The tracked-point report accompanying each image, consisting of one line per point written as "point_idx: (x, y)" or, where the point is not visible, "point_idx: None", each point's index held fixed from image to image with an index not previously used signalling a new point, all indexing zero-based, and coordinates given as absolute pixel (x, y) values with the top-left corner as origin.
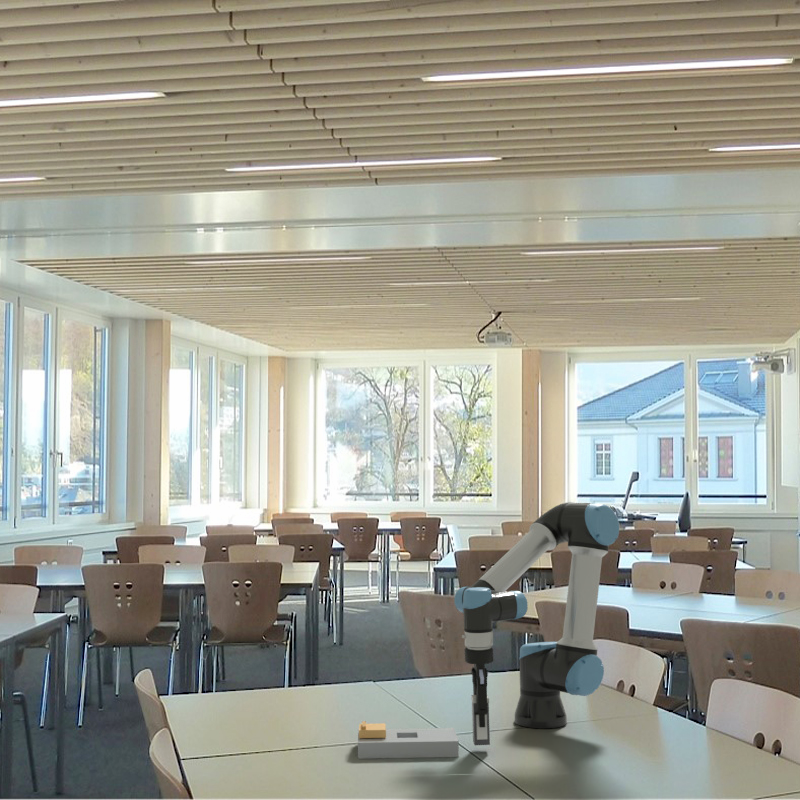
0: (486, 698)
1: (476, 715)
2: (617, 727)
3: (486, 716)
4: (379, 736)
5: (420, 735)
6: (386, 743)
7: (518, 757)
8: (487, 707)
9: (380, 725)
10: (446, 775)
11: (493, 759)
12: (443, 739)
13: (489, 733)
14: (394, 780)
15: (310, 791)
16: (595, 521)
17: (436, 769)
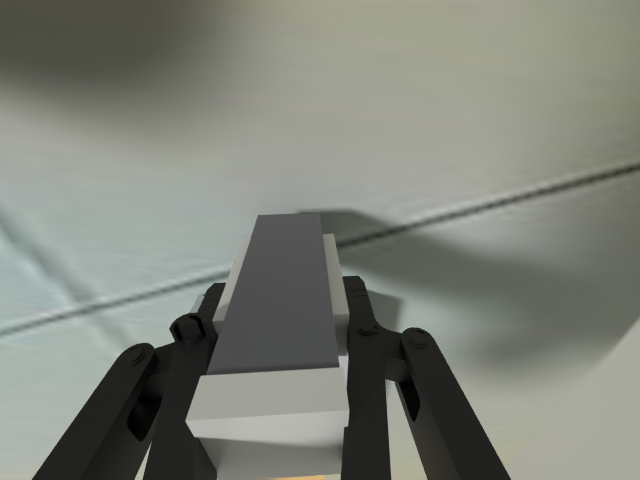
0: (492, 453)
1: (344, 350)
2: None
3: (347, 304)
4: None
5: None
6: None
7: (380, 88)
8: (336, 342)
9: (278, 478)
10: (510, 314)
11: (391, 193)
12: (340, 357)
13: (322, 235)
14: (501, 387)
15: (507, 455)
16: None
17: (452, 331)
